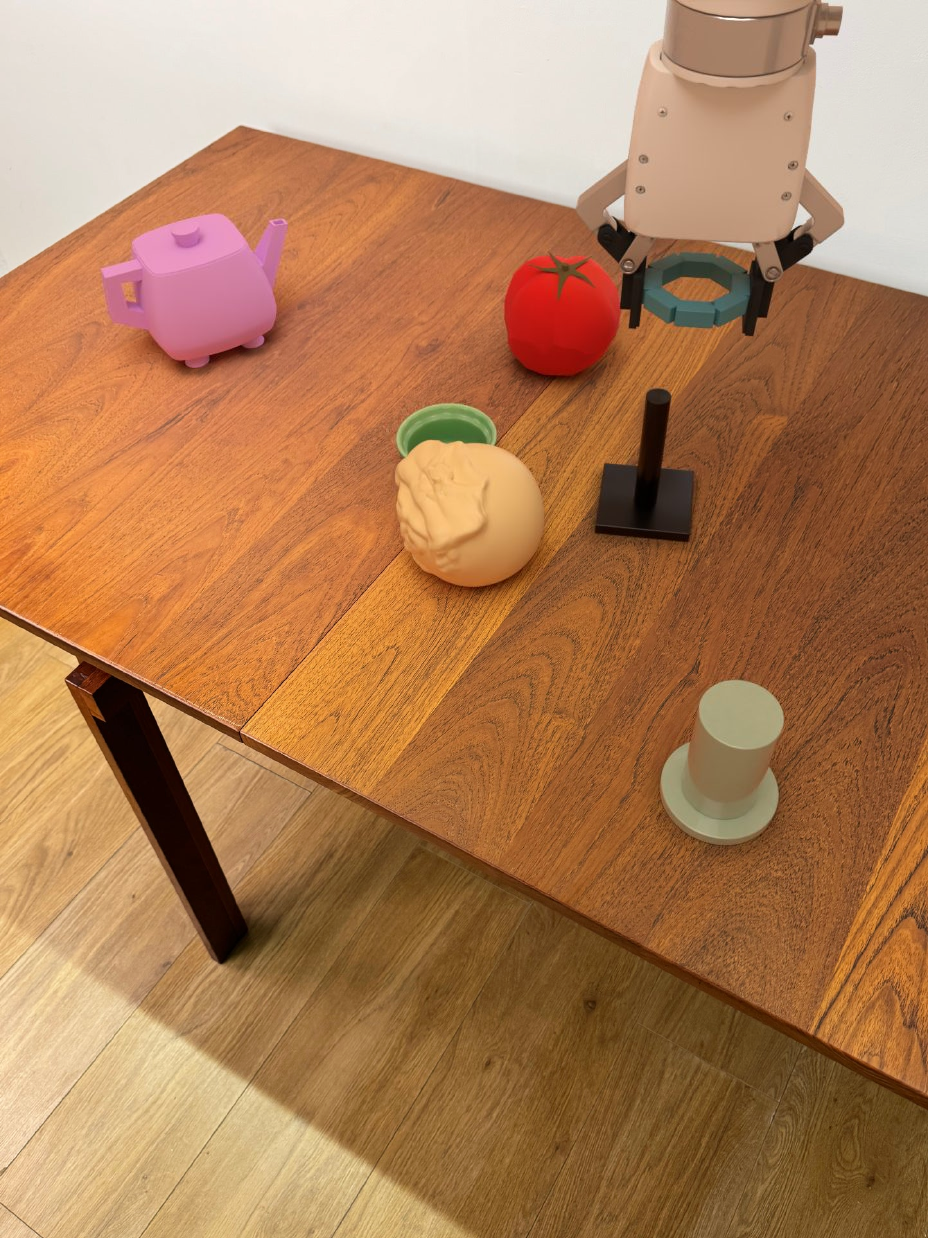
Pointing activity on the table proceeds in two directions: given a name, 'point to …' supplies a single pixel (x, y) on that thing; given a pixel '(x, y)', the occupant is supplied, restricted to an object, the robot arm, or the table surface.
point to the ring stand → (726, 766)
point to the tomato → (561, 314)
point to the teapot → (198, 286)
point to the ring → (689, 310)
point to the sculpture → (468, 511)
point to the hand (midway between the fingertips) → (690, 318)
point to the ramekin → (445, 427)
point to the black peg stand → (647, 485)
